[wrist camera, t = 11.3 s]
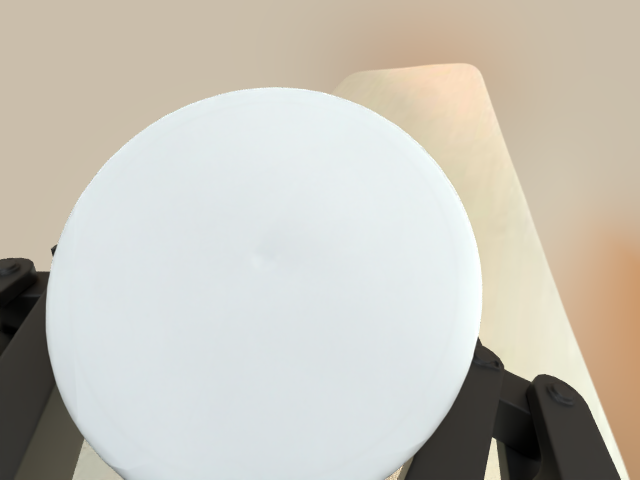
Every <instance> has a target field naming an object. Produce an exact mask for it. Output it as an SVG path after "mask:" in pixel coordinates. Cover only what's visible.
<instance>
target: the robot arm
mask: <svg viewBox="0 0 640 480" xmlns="http://www.w3.org/2000/svg"><path fill="white" fill-rule="evenodd" d="M57 245H58V244H57ZM57 245H55V246H54V247H53V248H52V249H51V251H52V255H53V257H54V254H55V251H56V248H57ZM49 275H50V272H36V270H35V267H34V264H33V262H32V261H31V260H29V259H24V258H7V259H1V260H0V480H72V478H73V474H74V471H75V468H76V464H77V461H78V458H79V454H80V451H81V448H82V444H83V441H84V437H83V435H82V434H81V432H80V431H79V429H78V428H77V426H76V424H75V423H74V421H73V420H72V418H71V416H70V414H69V412H68V410H67V408H66V406H65V404H64V402H63V400H62V397H61V394H60V392H59V389H58V387H57V384H56V380H55V376H54V373H53V369H52V365H51V361H50V356H49V352H48V345H47V336H46V297H47V286H48V281H49ZM492 437H493V438H495V439H496V442H497V451H498V459H499V467H500V475H501V480H621V479H620V476H619V474H618V472H617V470H616V467H615V465H614V463H613V461H612V458H611V456H610V454H609V452H608V450H607V447H606V445H605V443H604V441H603V438H602V436H601V434H600V432H599V429H598V427H597V425H596V423H595V420H594V418H593V416H592V414H591V411H590V409H589V407H588V405H587V403H586V402H585V400H584V399H583V397H582V396H581V395H580V394H579V393H578V392H577V391H576V390H575V389H574V388H572V387H571V386H570V385H568V384H567V383H565V382H564V381H562V380H560V379H558V378H556V377H553V376H550V375H546V374H542V375H538V376H536V377H535V378H534V380H533V381H532V382H530V381H528V380H525V379H523V378H521V377H519V376H517V375H514V374H512V373H510V372H508V371H506V370H505V369H504V365H503V363H502V362H501V360H500V358H499V357H498V356H496V355H495V354H494V353H493V352H492V351H491V350H489V349H488V348H486V347H484V346H482V344H481V342H480V339H479V337H478V338H477V342H476V346H475V350H474V354H473V358H472V361H471V364H470V367H469V370H468V373H467V375H466V377H465V380H464V382H463V384H462V387H461V389H460V391H459V393H458V395H457V397H456V399H455V401H454V403H453V405H452V407H451V408H450V410H449V412H448V413H447V415H446V416H445V418H444V419H443V420H442V422H441V423H440V425H439V426H438V427H437V429H436V430H435V432H434V433H433V434H432V435H431V437H430V438H429V439H428V440H427V441H426V442H425V444H424V445H423V446H422V447H421V448H420V449H419V450H418V451H417V452H416V453H415V454H414V455H413V456H412V457H411V458H410V459H409V460H408V461H407V462H406V463H405V464H404V465H403V467H402V470H401V472H400V474H399V477H398V479H397V480H484V476H485V470H486V465H487V460H488V455H489V450H490V445H491V439H492Z"/></svg>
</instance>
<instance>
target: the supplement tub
mask: <svg viewBox="0 0 640 480" xmlns="http://www.w3.org/2000/svg"><path fill="white" fill-rule="evenodd" d="M481 312H482V276H481V266H480V259H479V254H478V249H477V244H476V240H475V237H474V233H473V230H472V226H471V224H470V221H469V219H468V216H467V213H466V211H465V208H464V206H463V204H462V202H461V200H460V198H459V196H458V194H457V192H456V191H455V189H454V187H453V185H452V184H451V182H450V181H449V180H448V178H447V177H446V175H445V174H444V172H443V171H442V169H441V168H440V166H439V165H438V164H437V163H436V162H435V161H434V159H433V158H432V157H431V156H430V155H429V154H428V153H427V151H426V150H425V149H424V148H423V147H422V146H421V145H419V144H418V143H417V142H416V141H415V140H414V139H413V138H412V137H411V136H410V135H408V134H407V133H406V132H405V131H403V130H402V129H401V128H400V127H398V126H397V125H396V124H394V123H392V122H391V121H389V120H387V119H386V118H384V117H382V116H381V115H379V114H377V113H375V112H374V111H372V110H370V109H368V108H366V107H363V106H361V105H359V104H356V103H354V102H351V101H349V100H346V99H344V98H340V97H337V96H333V95H330V94H326V93H322V92H316V91H311V90H305V89H296V88H283V87H281V88H280V87H270V88H256V89H247V90H239V91H233V92H228V93H224V94H220V95H217V96H213V97H210V98H207V99H203V100H200V101H197V102H195V103H192V104H189V105H187V106H185V107H182V108H180V109H178V110H176V111H174V112H172V113H170V114H168V115H166V116H164V117H163V118H161V119H160V120H158V121H156V122H154V123H153V124H151V125H150V126H148V127H147V128H145V129H144V130H143V131H141V132H140V133H138V134H137V135H136V136H135V137H133V138H132V139H131V140H130V141H128V142H127V143H126V144H125V145H124V146H123V147H122V148H121V149H120V150H118V151H117V152H116V153H115V154H114V155H113V156H112V157H111V158H110V159H109V160H108V161H107V162H106V164H105V165H104V166H103V167H102V168H101V169H100V170H99V171H98V173H97V174H96V175H95V177H94V178H93V179H92V181H91V182H90V183H89V185H88V186H87V187H86V189H85V190H84V192H83V193H82V195H81V196H80V198H79V199H78V201H77V203H76V205H75V206H74V208H73V210H72V212H71V214H70V216H69V218H68V220H67V222H66V225H65V227H64V229H63V232H62V234H61V236H60V239H59V242H58V245H57V248H56V251H55V254H54V257H53V260H52V266H51V270H50V275H49V281H48V286H47V297H46V336H47V345H48V352H49V356H50V361H51V365H52V369H53V373H54V376H55V380H56V384H57V387H58V389H59V392H60V394H61V397H62V400H63V402H64V404H65V406H66V408H67V410H68V412H69V414H70V416H71V418H72V420H73V421H74V423H75V424H76V426H77V428H78V429H79V431H80V432H81V434H82V435H83V437H84V438H85V439H86V441H87V442H88V443H89V445H90V446H91V447H92V448H93V449H94V450H95V452H96V453H97V454H98V455H99V456H100V457H101V459H102V460H103V461H104V462H105V463H107V464H108V465H109V466H110V467H111V468H112V469H113V470H114V471H115V472H116V473H118V474H119V475H120V476H121V477H122V478H123V479H124V480H385V479H386V478H388V477H389V476H391V475H392V474H393V473H394V472H396V471H397V470H398V469H399V468H400V467H401V466H402V465H403V464H405V463H406V462H407V461H408V460H409V459H410V458H411V457H412V456H413V455H414V454H415V453H416V452H417V451H418V450H419V449H420V448H421V447H422V446H423V445H424V444H425V442H426V441H427V440H428V439H429V438H430V437H431V435H432V434H433V433H434V432H435V430H436V429H437V427H438V426H439V425H440V423H441V422H442V420H443V419H444V418H445V416H446V415H447V413H448V412H449V410H450V408H451V407H452V405H453V403H454V401H455V399H456V397H457V395H458V393H459V391H460V389H461V387H462V384H463V382H464V380H465V377H466V375H467V373H468V370H469V367H470V364H471V361H472V358H473V354H474V350H475V346H476V342H477V338H478V334H479V328H480V320H481Z"/></svg>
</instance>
